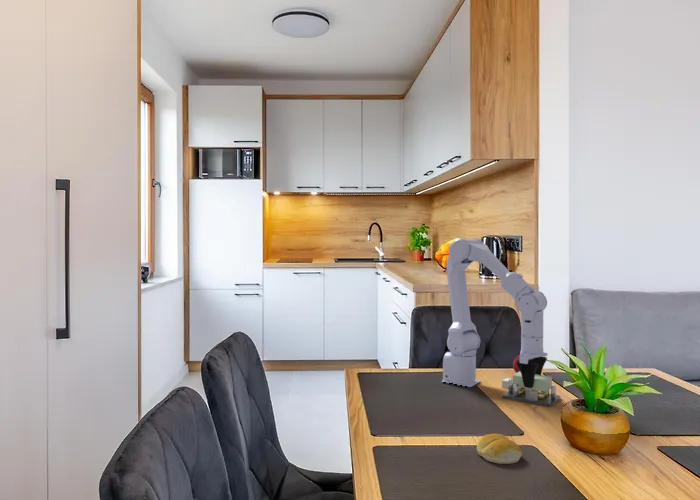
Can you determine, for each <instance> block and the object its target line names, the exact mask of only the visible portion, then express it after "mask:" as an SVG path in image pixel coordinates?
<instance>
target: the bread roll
mask: <svg viewBox="0 0 700 500" xmlns="http://www.w3.org/2000/svg"><path fill="white" fill-rule="evenodd" d="M476 452H477V454H478V455H479V456H480V457H482V458H483V459H484V460H485V461H488V462H489V463H494V464H498V465H499V464H500V465H503V464H505V465H506V464H507V465H508V464H509V465H510V464H514V463H517V462H519V461H520V459H521V457H522V455H523V451H522V449H521V447H520V446H519V445H518V443H516V442H515V441H514V440H512V439H510V438H508V437H507V436H506V435H504V434H501V433H488V434H485V435H483V436H482V437H481V438H480V439H479V440H478V442H477V445H476Z"/></svg>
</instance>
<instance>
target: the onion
mask: <svg viewBox="0 0 700 500" xmlns="http://www.w3.org/2000/svg"><path fill="white" fill-rule="evenodd" d="M517 360H520V354H519V355H516V357H514V359H513V362H512V368H513V370H514V372H515V374H516V373H518V372H520V369H519V367H518V365H517Z"/></svg>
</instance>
